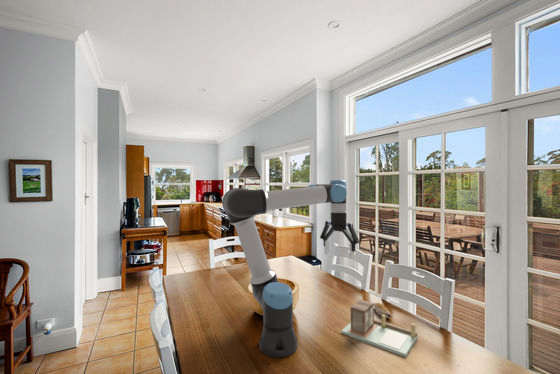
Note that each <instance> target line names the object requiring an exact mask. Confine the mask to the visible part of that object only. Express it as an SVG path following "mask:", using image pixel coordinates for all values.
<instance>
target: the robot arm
mask: <svg viewBox="0 0 560 374" xmlns="http://www.w3.org/2000/svg"><path fill="white" fill-rule="evenodd" d="M347 190H348V189H347V182H346V180H344V179H333V180H330V182H329V183H325V184H324V183H323V184H317V183H313V184H309V185H308V186H304V187H294V188H287V189H285V188H284V189H277V190H270V191H269V190H267V191H265V190H264V189H263V188H262V189H248V188H241V187H234V188H231V189H229V190H228V191H226V192H225V194H224V195H223V197H222V200H221V202H222V203H221V204H222V207H223V210H224V211H225V212H226V215H227V219H228V222H229V224H230V225H233V226H234V227H235V231H236V234H237V236H238V239H239V242H240V245H241V248H242V251H243V254H244V257H245V260H246V262H247V265H248V269H249V271H250V274H251V277H250V280H249V282H250V285H251V290H252V295H253V297H254V299H255V300H256V301H257V302H258V304H259V306H260V307H261V308H262V311H263V313H262V314H263V316H262V317H263V328H262V331H261V334H260V338H259V342H258V343H259V344H258V345H259V350H260V352H261V351H262V352H263V353H262V352H261V353H262V354H264V355H265V356H268V357H271V358H285V357H288V356H291V355H293V354H294V353H295V352H296V351H297V350H298V347H299V345H298V344H299V343H298V338H297V335H296V333H295V328H294V322H293V321H294V320H293V319H294V317H293V316H294V310H293V309H294V307H293V306H294V295H293V290H292V288H291V286H289V285H288V284H287V283H283V282H282V281H281V282H280V281H279V280H278V277H277V273H276V271H275V270H273V269H271V266H270V264H269V260H268V258H267V254H266V252H265V248H264V245H263V242H262V240H261V237H260V234H259V231H258V228H257V225H256V222H255V217H256V216H259V215H266V214H267V212H268V211H275V210H282V209H290V208H299V207H305V206H312V205H317V204H319V205H320V204H326V203H327V204H328V203H330V220H326V221H324V222H325V223H324V227H323V228H322V229H323V230H322V232H321V234H320V235H319V238H320V240H321V239H322V240H323V247H324V254H325V255H327V254H330V240H329V238H330V237H331V235H333V233H334V232H341V233H343V235H344V236H345V237H346V239H347V240H348V241H349V260H350V259H353V258H355V251H356V250H357V249H356V245H358V244H360V239H359V237H358V235H357V233H356V230H355V229H354V224H353V222H347V217H348V216H347V196H348V191H347ZM330 226H331V227H330ZM329 228H330V229H329Z"/></svg>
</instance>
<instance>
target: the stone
mask: <svg viewBox="0 0 560 374" xmlns="http://www.w3.org/2000/svg"><path fill="white" fill-rule="evenodd" d="M373 303H374V309H375V312H376V313H377V314H378V315H379V316H381V317H382V315H385V316H386V319H390V318H392V314H391V311H390V309H389V308H387V307H386V306H385V305H383V304H382V303H380V302H373Z"/></svg>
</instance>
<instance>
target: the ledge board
mask: <svg viewBox="0 0 560 374" xmlns="http://www.w3.org/2000/svg"><path fill="white" fill-rule="evenodd" d="M386 319H387V318H386V316H385V315H382V316H381V320H379V319H376V318H375V319H374V326H373V327H372V328H371V329H370V330H369V331H368V332H367V333H366V334H365V336H364V335H361V334H359V333H356V332H353V331H351V322H349V323H348V324H347V325H346V326H345V327H344V328H342V329H341V334H343V335H345V336H349V337H351V338H353V339H355V340H358V341H360V342H361V341H362V342H364V343H366V344H369V345H372V346H373V347H374V346H375V347H377V348H380V349H383V350H386V351H388V352H391V353H393V354H397V355H398V356H401V357H404V358H407V356H408V354H409V353H410V351H411V349H412V348H413V346H414V344H415V343H416V341H417V340H418V332H417V331H416V324H415V323H412V322H411V324H410V329H407V328H404V327H401V326H397V325H394V324H391V323H388V322H386Z"/></svg>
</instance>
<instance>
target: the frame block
mask: <svg viewBox="0 0 560 374" xmlns="http://www.w3.org/2000/svg"><path fill="white" fill-rule="evenodd" d="M374 303H375V302H370V301H367V300H362V299H359V300H358V301H356V303H354V304H353V305H351V306H350V323H351V331H353V332H356V333H359V334H361V335H364V336H365V334H366V333H367V332H368V331H369V330H370V329H371V328H372V327H373V326H374V318H375V317H374V316H375V315H374V313H375V311H374V309H375V307H374Z"/></svg>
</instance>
